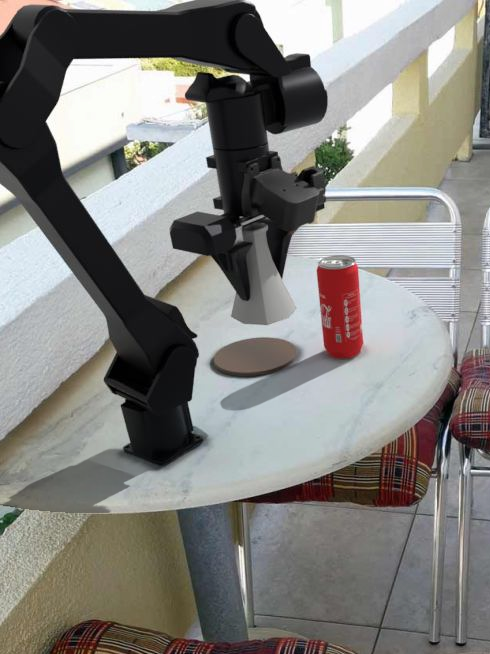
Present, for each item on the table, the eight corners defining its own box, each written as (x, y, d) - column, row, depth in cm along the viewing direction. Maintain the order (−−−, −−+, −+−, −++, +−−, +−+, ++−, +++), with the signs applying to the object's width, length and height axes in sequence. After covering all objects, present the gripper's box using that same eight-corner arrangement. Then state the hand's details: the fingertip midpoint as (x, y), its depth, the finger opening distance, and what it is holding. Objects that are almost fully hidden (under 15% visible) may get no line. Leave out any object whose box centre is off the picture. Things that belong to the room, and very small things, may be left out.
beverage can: (359, 361, 111) (352, 269, 103) (320, 359, 112) (311, 268, 104) (367, 344, 115) (361, 254, 107) (329, 343, 116) (321, 254, 108)
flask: (308, 309, 100) (298, 220, 94) (268, 332, 95) (256, 240, 89) (260, 299, 103) (248, 213, 97) (220, 320, 98) (204, 231, 92)
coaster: (259, 383, 107) (258, 379, 107) (196, 365, 113) (196, 361, 112) (313, 350, 114) (313, 346, 114) (252, 334, 120) (251, 331, 119)
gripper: (233, 174, 78) (258, 336, 88) (357, 130, 90) (366, 278, 99) (151, 162, 84) (183, 315, 93) (278, 122, 95) (294, 263, 105)
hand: (261, 292), depth 97 cm, fingers closed on flask, 5 cm apart
